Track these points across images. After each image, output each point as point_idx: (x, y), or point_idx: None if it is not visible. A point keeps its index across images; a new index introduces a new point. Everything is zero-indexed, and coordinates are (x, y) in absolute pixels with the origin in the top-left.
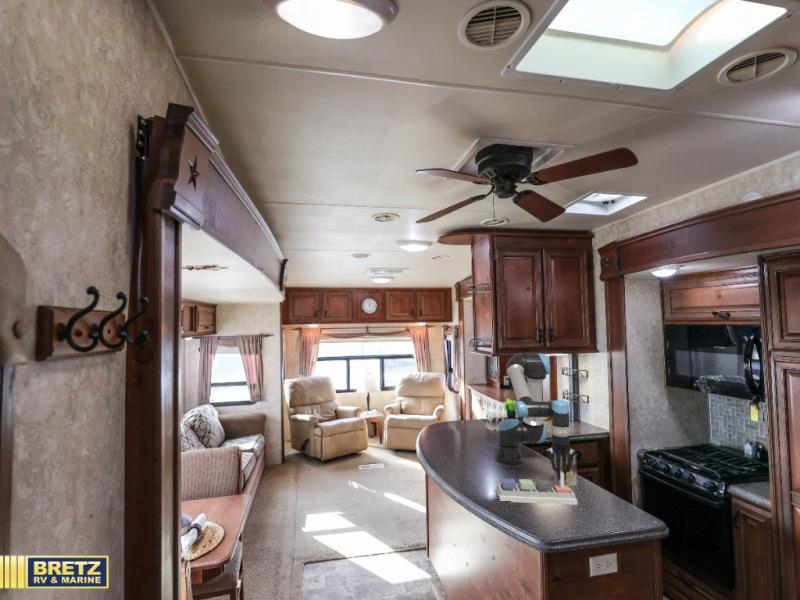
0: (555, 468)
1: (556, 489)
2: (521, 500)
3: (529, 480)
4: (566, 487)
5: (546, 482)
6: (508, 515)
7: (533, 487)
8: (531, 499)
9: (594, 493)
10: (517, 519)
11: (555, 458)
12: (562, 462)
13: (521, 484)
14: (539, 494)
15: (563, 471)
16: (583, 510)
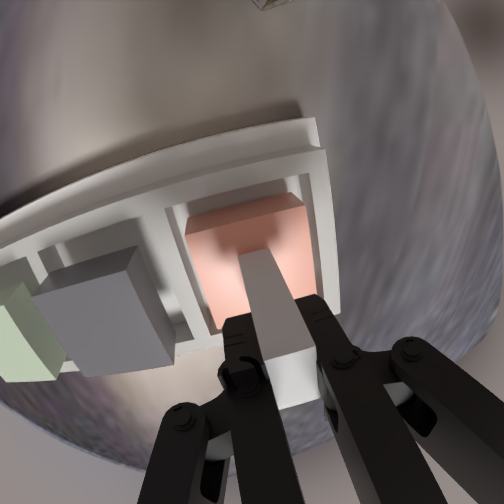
0: (218, 475)
1: (212, 311)
2: None
3: (5, 326)
4: (301, 262)
5: (122, 333)
6: (75, 433)
7: (62, 362)
8: None
9: (444, 94)
10: (106, 445)
11: None
12: (370, 497)
13: (8, 378)
14: None
15: (325, 409)
16: None
